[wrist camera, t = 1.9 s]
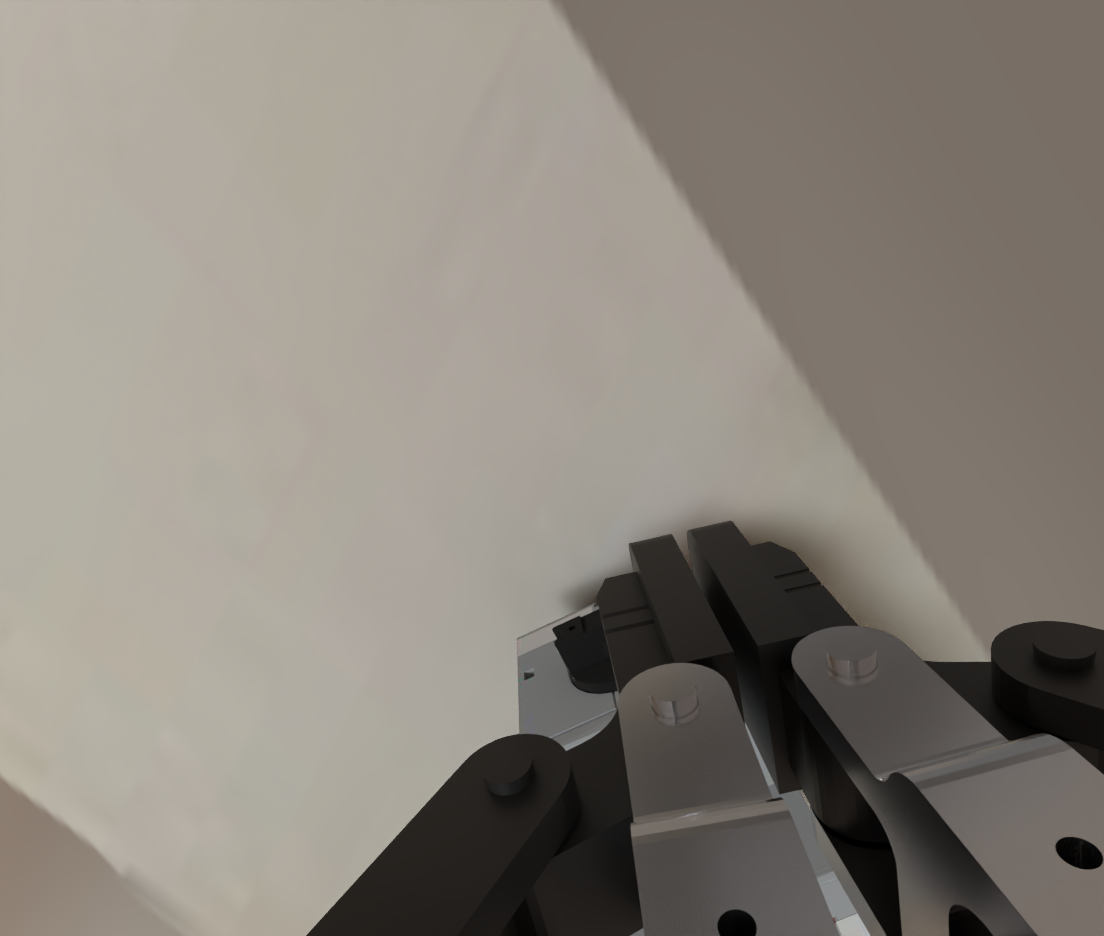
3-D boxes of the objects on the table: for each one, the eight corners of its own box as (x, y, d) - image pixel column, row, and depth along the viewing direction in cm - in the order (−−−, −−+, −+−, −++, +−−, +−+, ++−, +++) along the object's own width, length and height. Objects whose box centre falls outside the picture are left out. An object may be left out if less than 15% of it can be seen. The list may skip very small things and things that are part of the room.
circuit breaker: (650, 492, 32) (764, 706, 18) (761, 729, 37) (923, 1050, 22) (499, 562, 33) (493, 823, 19) (626, 787, 37) (699, 1134, 23)
